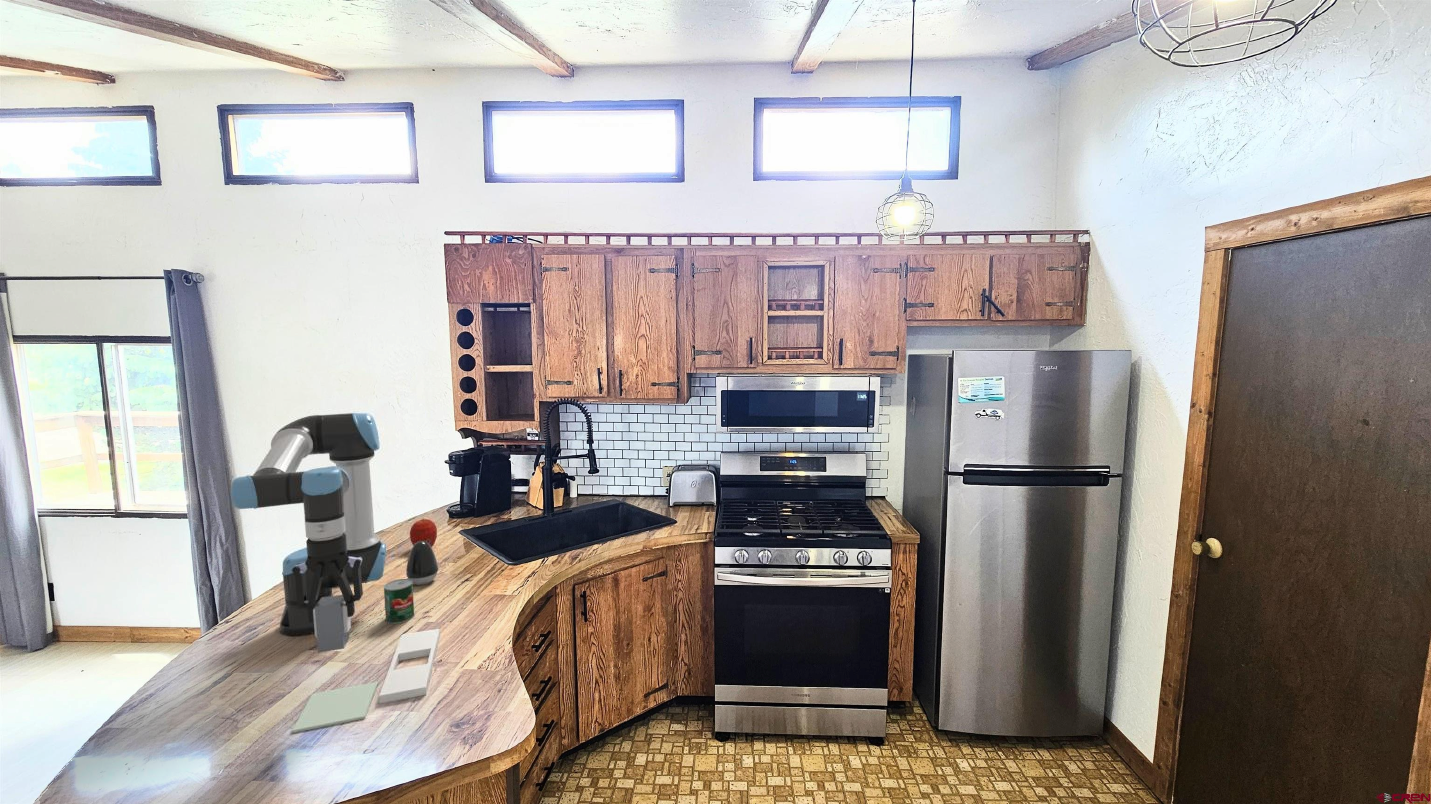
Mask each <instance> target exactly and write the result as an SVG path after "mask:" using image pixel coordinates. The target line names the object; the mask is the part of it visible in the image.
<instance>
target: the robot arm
mask: <svg viewBox="0 0 1431 804" xmlns="http://www.w3.org/2000/svg"><path fill="white" fill-rule="evenodd" d="M380 445H381V444H380V436H379V433H378V429H377V424H376V421H375V418H374V417H373V416H372V415H371V414H369V413H365V412H364V413H362V412H361V413H358V412H357V413H356V412H350V413H348V412H347V413H337V414H336V413H334V414H333V413H332V414H314V415H308V416H303V417H301V418H297V419H296V420H293V421H291V422H290V423H287V424H286V425H285V426H283V427H281V428H280V429H278V431H276V433H275V434H274V436H273V437H272V439H271V442H270V450H268V453H267V454H266V456H264V459H262V461H261V463H260V465H259V466H258V467H257V469H256V471H254V474H253V475H249V474H248V475H246V476H239V477H236V478H235V479H234V480H233V481H232V484H231V488H230V499H231V503H232V505H233V506H234V507H235V509H238V510H245V509H255V510H256V509H261V508H268V507H277V506H278V507H279V506H285V505H297V504H298V505H299V504H303V512H304V528H305V529H304V530H305V537H306V538H307V540H306V541H305V543H306V547H304V548H301V549H298V550H296V551H293V552H291V553H290V554H289V555H287V556H285V558H284V559H283V561H282V572H281V575H282V580H283V581H282V582H283V589H284V590H283V592H284V593H283V594H284V599H285V600H284V601H285V603H284V604H285V605H284V609H283V611H282V616H281V619H280V622H279V631H280V634H282V635H284V636H287V637H298V636H305V635H310V634H311V635H312V634H314V637H315V638H317V629H316V616H315V606H316V604H317V603H318V602H319V600H320V599H321V598H322V597H329V596H334V594H333V589H334V588H339V589H340V592H341V595H343V597H344V600H345V603H344V604H343V606H342V608H343V622H344V633H346V632H348V631H349V632H350V629H351V627H352V623H351V621H352V620H351V617H353V616H354V614H355V611H356V608H355V602H357V601H358V602H359V601H361V598H362V597H363V595H364V592H363V591H364V589H363V584H368V583H370V582H376V581H379V580H380V579H382V578H383V576H384V572H385V571H384V570H385V565H386V556H387V542H384V541H382V542H381V536H379V535H378V534H376V533H375V524H374V510H373V496H372V482H371V481H372V479H371V469H370V467H371V466H370V461H371V460H372V459H373V458H374V457H375V452H376V451H378V450H379V449H380ZM322 454H323V455H326V454H327V455H328V456H329V457H328V458H329V461H330V462H332V463H333V464H335V466H333V465H332V466H330V465H329V466H327V467H319V468H318V467H317V468H312V469H309V470H306V471H304V470H303V471H297V470H298V468H299V467H300V464H302V463H301V462H302V461H303V459H305V458H307V457H308V456H309V455H310V456H311V455H312V456H313V455H322ZM385 555H386V556H385ZM384 564H385V565H384ZM351 586H353V590H352V588H351Z"/></svg>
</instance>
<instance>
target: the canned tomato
mask: <svg viewBox="0 0 1431 804" xmlns="http://www.w3.org/2000/svg"><path fill="white" fill-rule="evenodd" d="M413 585H414V584H413V581H412V580H410V579H408V578H401V579H395V580H392V581H389V582H387V583H386V584H385V585H384V586H383V593H384V594H383V595H384V612H385V622H386V623H387V624H393V625H395V624H396V625H397V624H401V623H406V622H408V621H410V620H411V619H412V618H414V617H415V603H414V602H415V601H414V589H413V588H414V587H413Z"/></svg>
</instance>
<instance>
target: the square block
mask: <svg viewBox="0 0 1431 804" xmlns="http://www.w3.org/2000/svg"><path fill="white" fill-rule="evenodd" d="M344 603H345V600H344V597H343V595H342V594H338V595H337V594H336V595H333V596H329V597H322V598H321V599H320V600H319V602H318V603H317V604H316V606H315V616H316V629H317V637H316V639H317V640H316V641H317V652H318V653H324V652H325V653H326V652H330V651H337V650H343V649H345V647H346V646H347V644H348V642H349V639H350V630H349V631H348V632H346V633H344V622H343V608H342V606H343V604H344Z"/></svg>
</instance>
